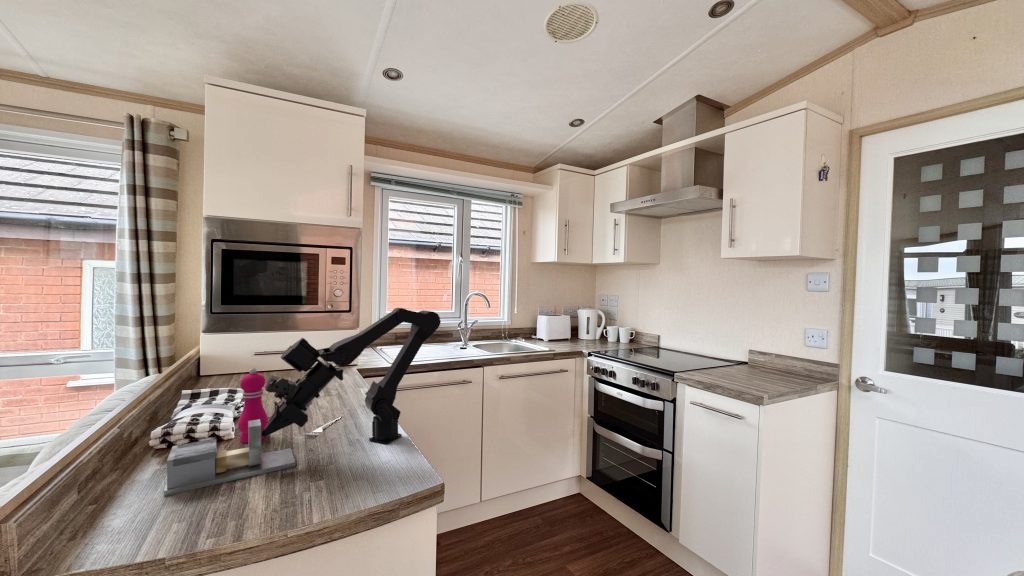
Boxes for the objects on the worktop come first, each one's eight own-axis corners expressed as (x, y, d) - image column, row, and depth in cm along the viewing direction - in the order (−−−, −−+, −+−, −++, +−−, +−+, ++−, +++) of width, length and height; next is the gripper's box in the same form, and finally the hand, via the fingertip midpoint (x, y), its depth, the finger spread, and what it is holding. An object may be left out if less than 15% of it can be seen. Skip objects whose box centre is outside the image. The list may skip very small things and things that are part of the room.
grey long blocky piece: (290, 451, 105) (290, 424, 105) (295, 466, 97) (295, 437, 96) (170, 476, 91) (169, 445, 91) (163, 496, 83) (163, 462, 83)
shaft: (260, 456, 99) (259, 419, 99) (261, 464, 95) (260, 425, 95) (178, 473, 90) (178, 432, 90) (176, 482, 86) (175, 439, 86)
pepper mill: (253, 444, 109) (253, 371, 109) (231, 442, 111) (230, 370, 110) (274, 435, 116) (273, 365, 116) (253, 433, 118) (252, 364, 118)
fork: (349, 418, 133) (349, 412, 133) (312, 440, 114) (312, 433, 114) (339, 417, 134) (339, 411, 134) (301, 439, 114) (301, 432, 114)
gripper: (283, 357, 107) (233, 406, 101) (291, 370, 92) (233, 428, 86) (316, 383, 112) (270, 431, 106) (329, 399, 97) (276, 456, 90)
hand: (262, 435), depth 97 cm, fingers closed
